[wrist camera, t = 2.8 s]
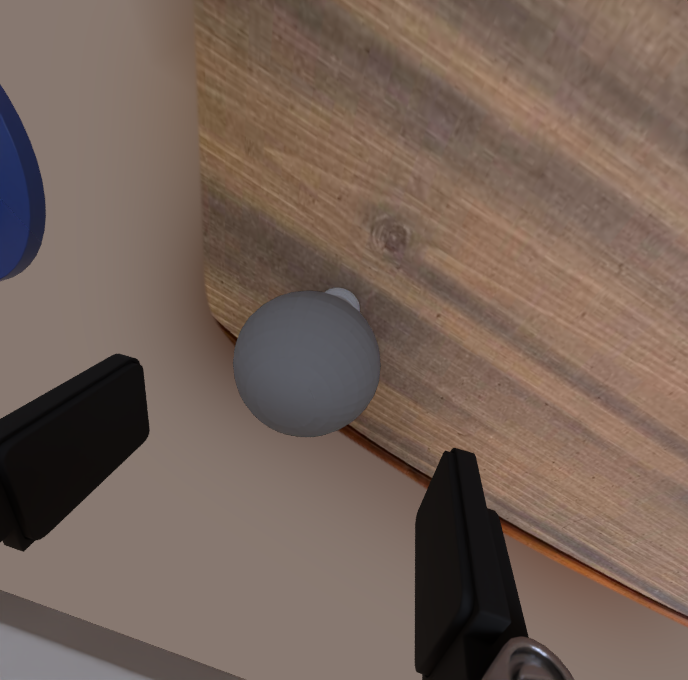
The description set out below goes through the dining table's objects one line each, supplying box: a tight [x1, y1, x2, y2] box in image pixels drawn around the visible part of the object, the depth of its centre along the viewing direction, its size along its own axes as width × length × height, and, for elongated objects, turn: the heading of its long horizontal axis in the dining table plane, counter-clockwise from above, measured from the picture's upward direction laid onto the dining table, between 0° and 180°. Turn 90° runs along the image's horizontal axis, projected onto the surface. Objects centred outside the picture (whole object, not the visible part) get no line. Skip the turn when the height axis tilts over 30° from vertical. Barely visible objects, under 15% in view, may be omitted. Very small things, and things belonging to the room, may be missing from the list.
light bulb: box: [233, 288, 381, 437], centre depth 16 cm, size 6×6×10 cm
